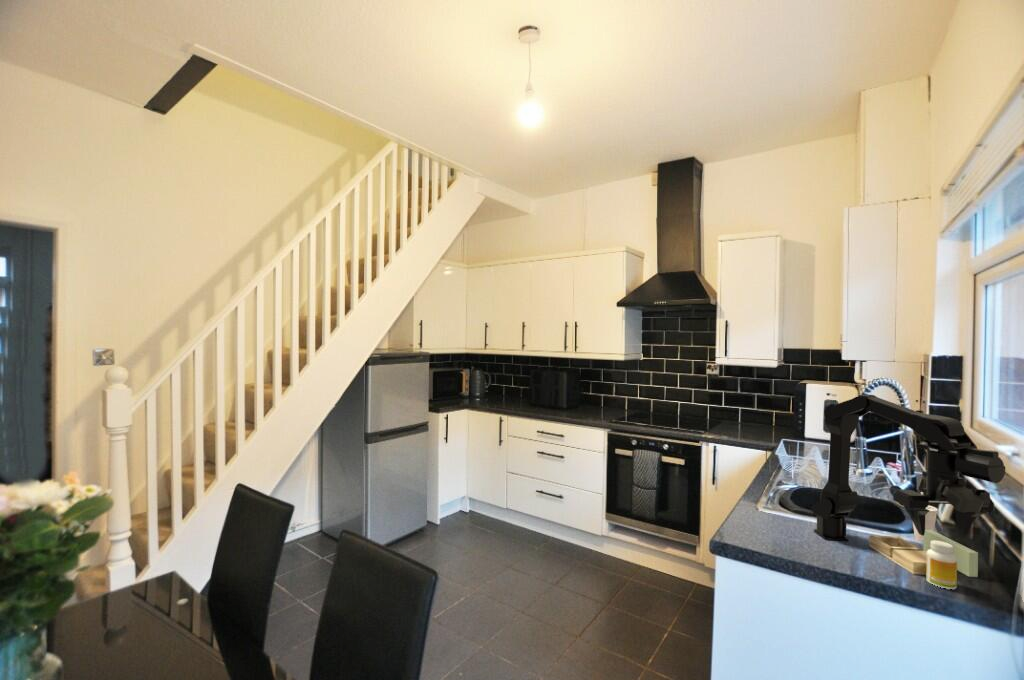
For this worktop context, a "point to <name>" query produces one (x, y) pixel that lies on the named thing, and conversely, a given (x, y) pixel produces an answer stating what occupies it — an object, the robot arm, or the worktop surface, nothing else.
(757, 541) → the worktop surface
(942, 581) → the supplement bottle
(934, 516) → the smoothie
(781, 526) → the worktop surface
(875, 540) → the wooden sliding lid box
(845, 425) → the robot arm
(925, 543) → the backstop board
